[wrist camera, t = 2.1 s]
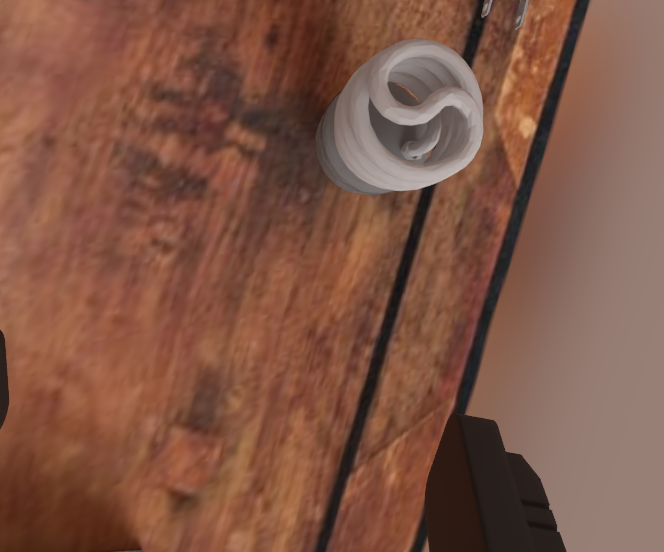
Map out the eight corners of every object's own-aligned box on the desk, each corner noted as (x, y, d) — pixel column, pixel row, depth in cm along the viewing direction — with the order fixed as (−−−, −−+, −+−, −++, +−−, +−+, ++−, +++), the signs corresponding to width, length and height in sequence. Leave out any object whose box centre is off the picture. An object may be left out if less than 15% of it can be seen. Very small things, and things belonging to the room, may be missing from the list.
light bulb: (409, 119, 33) (525, 54, 22) (383, 215, 33) (486, 201, 22) (314, 86, 32) (384, -2, 20) (288, 186, 32) (342, 155, 20)
